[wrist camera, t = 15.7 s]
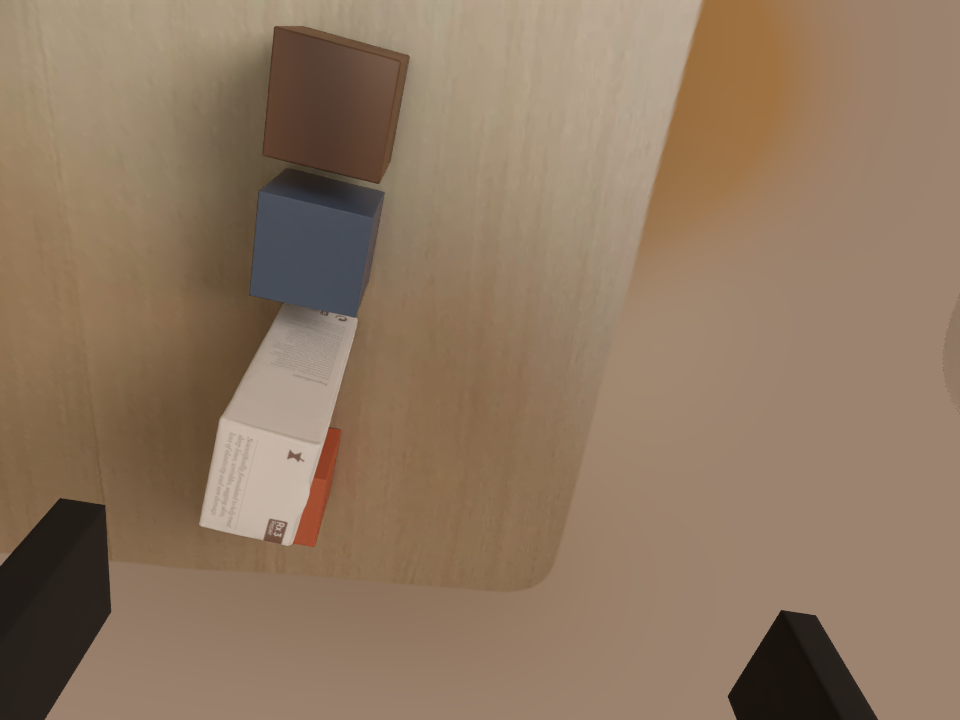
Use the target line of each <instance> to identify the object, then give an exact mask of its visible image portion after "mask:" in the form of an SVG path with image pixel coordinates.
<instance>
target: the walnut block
mask: <svg viewBox="0 0 960 720" xmlns="http://www.w3.org/2000/svg"><path fill="white" fill-rule="evenodd" d="M408 63H409V56H408V55H405V54H402V53H398V52H394V51H391V50H387V49H383V48H380V47H376V46H373V45H369V44H365V43H362V42H358V41H354V40H351V39H347V38H344V37H340V36H336V35H333V34H329V33H326V32H322V31H318V30H315V29H311V28H307V27H304V26H275V27H274V36H273V46H272V57H271V68H270V79H269V89H268V100H267V111H266V122H265V132H264V143H263V155H264V156H267V157H271V158H275V159H279V160H283V161H287V162H291V163H295V164H299V165H303V166H307V167H312V168H316V169H320V170H324V171H328V172H332V173H336V174H340V175H344V176H348V177H352V178H356V179H360V180H365V181H369V182H373V183H377V184H379V183H380V181H381V179H382V177H383V175H384V173H385V171H386V169H387V167H388V165H389V163H390V161H391V155H392V150H393V144H394V139H395V134H396V128H397V123H398V117H399V112H400V106H401V101H402V95H403V90H404V84H405V79H406V74H407V68H408Z"/></svg>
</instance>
